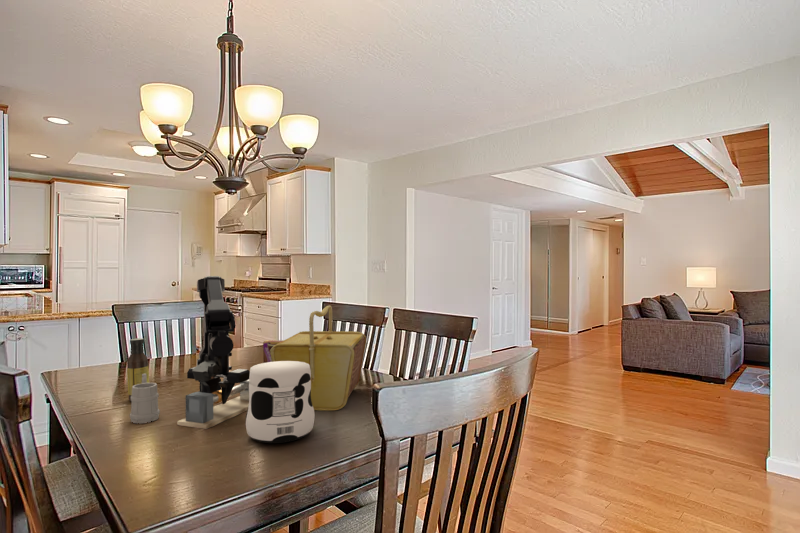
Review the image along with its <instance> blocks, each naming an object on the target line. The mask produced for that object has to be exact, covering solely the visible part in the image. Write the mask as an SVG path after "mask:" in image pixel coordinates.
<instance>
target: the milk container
mask: <svg viewBox="0 0 800 533" xmlns="http://www.w3.org/2000/svg"><path fill="white" fill-rule="evenodd" d="M249 368H250V369H249V371H250V376H249V405H248V409H247V411H246V413H245V419H244V420H245V422H244V423H245V428H246V433H247V435H248V437H249V438H251V439H252V440H253V441H256V442H259V443H264V444H283V443H288V442H290V443H291V442H294V441H297V440H300V439H302V438H303V437H306V436H307V435H309V434H310V433H311V432H312V430H313V428H314V423H315V410H314V408H313V405H312V401H311V370H310V365H309V364H307V363H305V362H299V361H275V362H267V363H263V362H262V363H258V364H254V365H253V366H251V367H249Z"/></svg>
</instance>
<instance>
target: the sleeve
mask: <svg viewBox="0 0 800 533" xmlns="http://www.w3.org/2000/svg"><path fill="white" fill-rule="evenodd" d="M245 382H249V380H246V381H243V382H241V383H239V385H240V384H242V383H245ZM239 396H240V400H245V401H249V389H248V390H245V391H243V392H240V393H239Z"/></svg>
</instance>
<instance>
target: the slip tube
mask: <svg viewBox="0 0 800 533" xmlns="http://www.w3.org/2000/svg"><path fill="white" fill-rule="evenodd" d="M248 389H249V382H245V383H242V384H240V383H239V384H237V385H234V387H233V389H232V390H231V393H230V395H229V397H228V398H230V397H232V396H235V395H237V394H240V392H243V391H245V390H248ZM212 394H213V404H215V405H216V404H217V405H218V404H219V403H222V390H218V391H216V392H213V393H212Z"/></svg>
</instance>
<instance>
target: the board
mask: <svg viewBox="0 0 800 533" xmlns="http://www.w3.org/2000/svg"><path fill="white" fill-rule="evenodd" d="M248 405H249V401H245V400H240V395H239V396H237V397H234V398H231V399H229V400H227V402H226V403H225V404H222V402H220V404H219V403H218V404H217V405H216V404H215V405H213V419H212V420H210V421H207V422H205V423H197V422H189V421H186V417H185V418H182V419H180V420H177V421H176V422H177V423H176V424H177V425H176V426H182V427H189V428H197V429H203V430H207V429H209V428H212V427H214V426H216V425H218V424H220V423H223V422H225V421H227V420H229V419H232V418H234V417H236V416H238V415H240V414H242V413H245V412H247V409H248Z"/></svg>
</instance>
